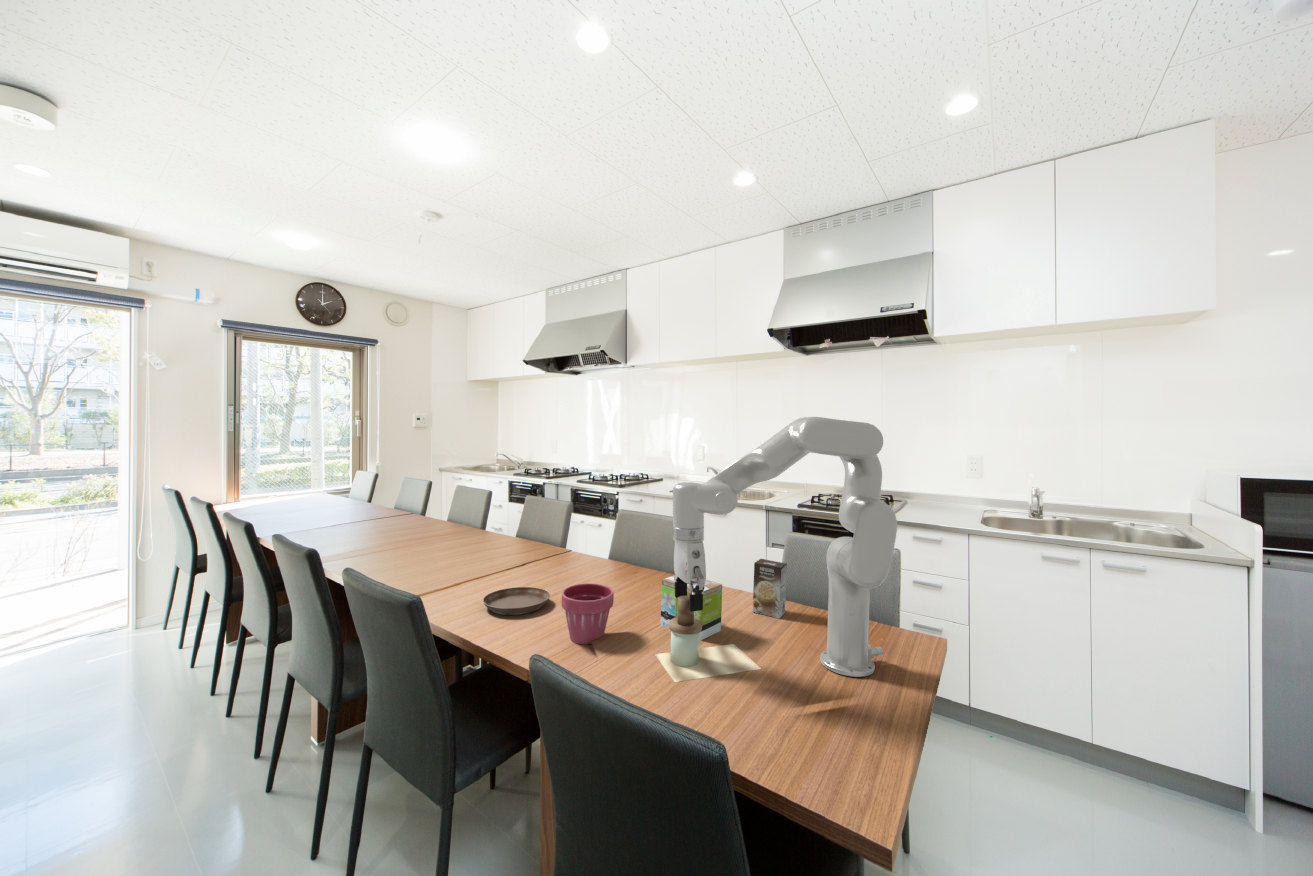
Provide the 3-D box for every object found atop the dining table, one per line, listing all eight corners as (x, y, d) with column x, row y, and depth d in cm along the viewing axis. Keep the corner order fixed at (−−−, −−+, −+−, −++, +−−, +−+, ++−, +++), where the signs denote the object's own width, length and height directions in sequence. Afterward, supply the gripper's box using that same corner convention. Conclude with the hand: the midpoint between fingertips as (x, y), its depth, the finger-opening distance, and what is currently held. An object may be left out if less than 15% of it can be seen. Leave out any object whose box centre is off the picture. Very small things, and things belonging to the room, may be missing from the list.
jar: (692, 652, 123) (693, 620, 123) (704, 665, 116) (705, 632, 116) (665, 655, 120) (666, 623, 120) (676, 669, 113) (676, 635, 113)
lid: (694, 620, 123) (694, 591, 123) (707, 632, 115) (708, 602, 115) (664, 623, 120) (665, 594, 120) (676, 636, 113) (676, 605, 113)
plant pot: (603, 652, 124) (604, 602, 124) (552, 645, 127) (553, 597, 127) (618, 629, 138) (619, 585, 138) (572, 624, 141) (573, 581, 141)
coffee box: (751, 612, 154) (752, 562, 154) (758, 606, 159) (759, 558, 159) (779, 619, 149) (781, 567, 149) (786, 612, 154) (787, 562, 154)
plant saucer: (479, 600, 160) (480, 590, 160) (542, 592, 169) (542, 583, 169) (485, 623, 141) (485, 611, 141) (555, 613, 150) (556, 602, 150)
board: (733, 648, 128) (733, 643, 128) (761, 673, 115) (761, 668, 115) (654, 659, 121) (654, 654, 121) (674, 687, 108) (674, 682, 108)
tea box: (659, 629, 139) (660, 578, 139) (681, 619, 147) (682, 571, 147) (700, 645, 129) (701, 590, 129) (722, 634, 137) (723, 582, 136)
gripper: (717, 540, 111) (717, 614, 111) (689, 526, 127) (689, 590, 127) (687, 542, 108) (687, 618, 108) (662, 528, 125) (662, 594, 125)
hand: (688, 603), depth 118 cm, fingers open, 9 cm apart
